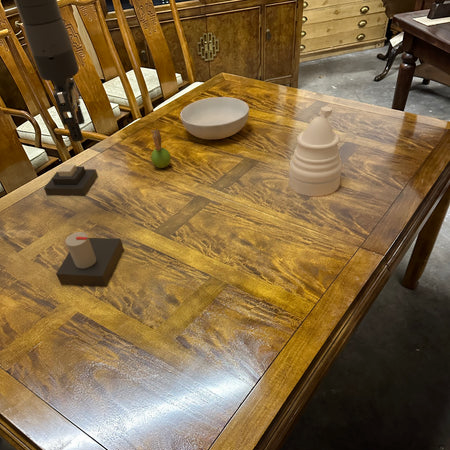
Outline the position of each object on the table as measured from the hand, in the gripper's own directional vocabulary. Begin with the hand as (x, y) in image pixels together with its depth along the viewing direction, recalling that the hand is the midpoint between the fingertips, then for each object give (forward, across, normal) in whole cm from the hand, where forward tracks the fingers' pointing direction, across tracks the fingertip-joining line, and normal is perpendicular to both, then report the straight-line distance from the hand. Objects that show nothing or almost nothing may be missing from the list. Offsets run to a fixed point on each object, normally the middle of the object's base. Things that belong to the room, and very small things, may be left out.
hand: (79, 131), depth 91 cm
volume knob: (+17, +23, -3) cm, 29 cm away
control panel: (+20, +21, -2) cm, 29 cm away
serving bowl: (+20, -34, +35) cm, 52 cm away
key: (+17, -15, -9) cm, 24 cm away
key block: (+20, -15, -9) cm, 27 cm away
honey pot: (+20, +4, +54) cm, 57 cm away
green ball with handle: (+20, -17, +16) cm, 31 cm away
